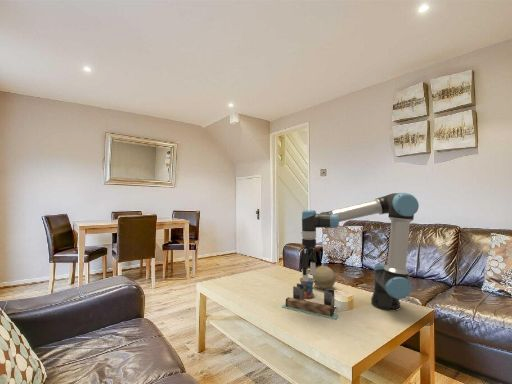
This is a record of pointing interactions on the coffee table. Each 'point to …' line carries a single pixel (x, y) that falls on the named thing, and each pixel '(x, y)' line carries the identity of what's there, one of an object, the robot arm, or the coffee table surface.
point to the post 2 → (329, 298)
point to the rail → (310, 306)
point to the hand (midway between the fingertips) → (309, 277)
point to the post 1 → (298, 292)
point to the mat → (312, 312)
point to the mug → (308, 287)
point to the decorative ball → (324, 277)
